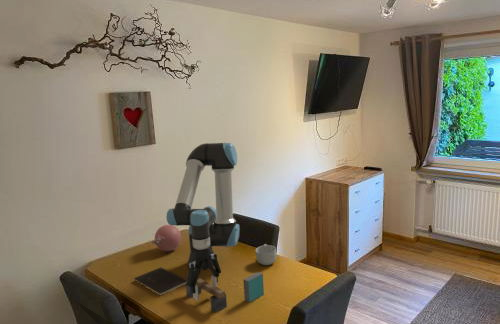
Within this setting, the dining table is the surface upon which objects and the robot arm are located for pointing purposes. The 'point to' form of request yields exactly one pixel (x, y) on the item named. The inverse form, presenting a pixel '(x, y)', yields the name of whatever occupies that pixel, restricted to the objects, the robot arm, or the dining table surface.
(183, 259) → the dining table surface
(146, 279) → the hardcover book
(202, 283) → the walnut stick
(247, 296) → the tile
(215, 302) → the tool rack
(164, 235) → the balloon
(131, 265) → the dining table surface
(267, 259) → the teacup
